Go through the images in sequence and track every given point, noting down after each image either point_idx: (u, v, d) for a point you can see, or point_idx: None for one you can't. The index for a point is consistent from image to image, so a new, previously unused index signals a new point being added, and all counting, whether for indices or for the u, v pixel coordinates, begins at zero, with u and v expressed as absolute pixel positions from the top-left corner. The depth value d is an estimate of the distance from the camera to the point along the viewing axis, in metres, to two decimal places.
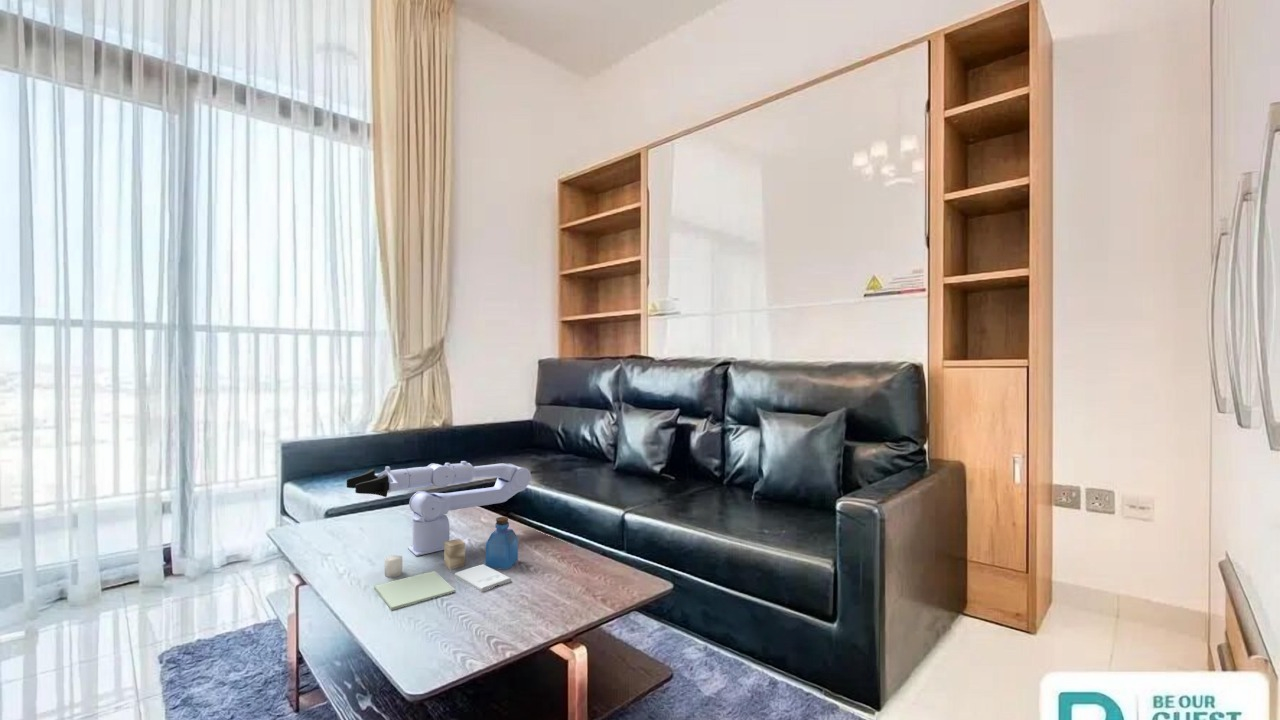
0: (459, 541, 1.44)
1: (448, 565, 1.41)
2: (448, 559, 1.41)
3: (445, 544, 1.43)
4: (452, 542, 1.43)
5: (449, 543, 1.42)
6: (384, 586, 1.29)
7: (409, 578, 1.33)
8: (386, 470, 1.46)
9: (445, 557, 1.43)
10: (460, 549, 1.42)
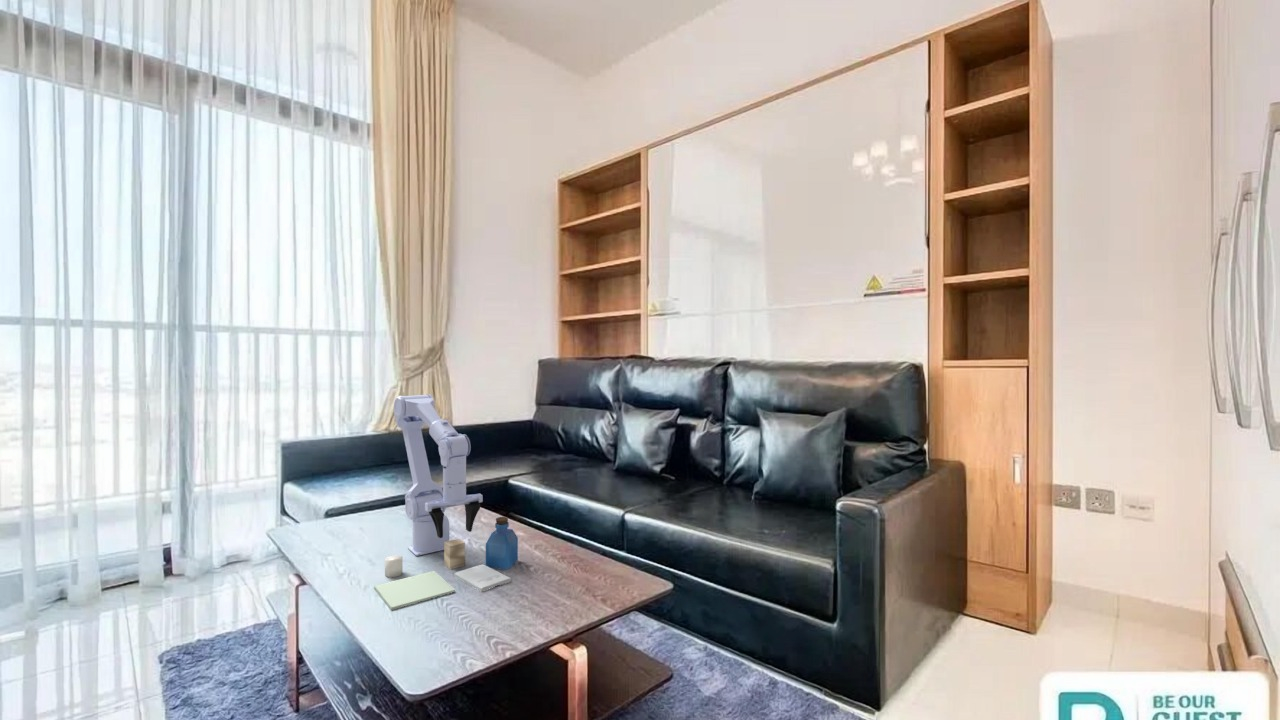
0: (459, 541, 1.44)
1: (448, 565, 1.41)
2: (448, 559, 1.41)
3: (445, 544, 1.43)
4: (452, 542, 1.43)
5: (449, 543, 1.42)
6: (384, 586, 1.29)
7: (409, 578, 1.33)
8: None
9: (445, 557, 1.43)
10: (460, 549, 1.42)
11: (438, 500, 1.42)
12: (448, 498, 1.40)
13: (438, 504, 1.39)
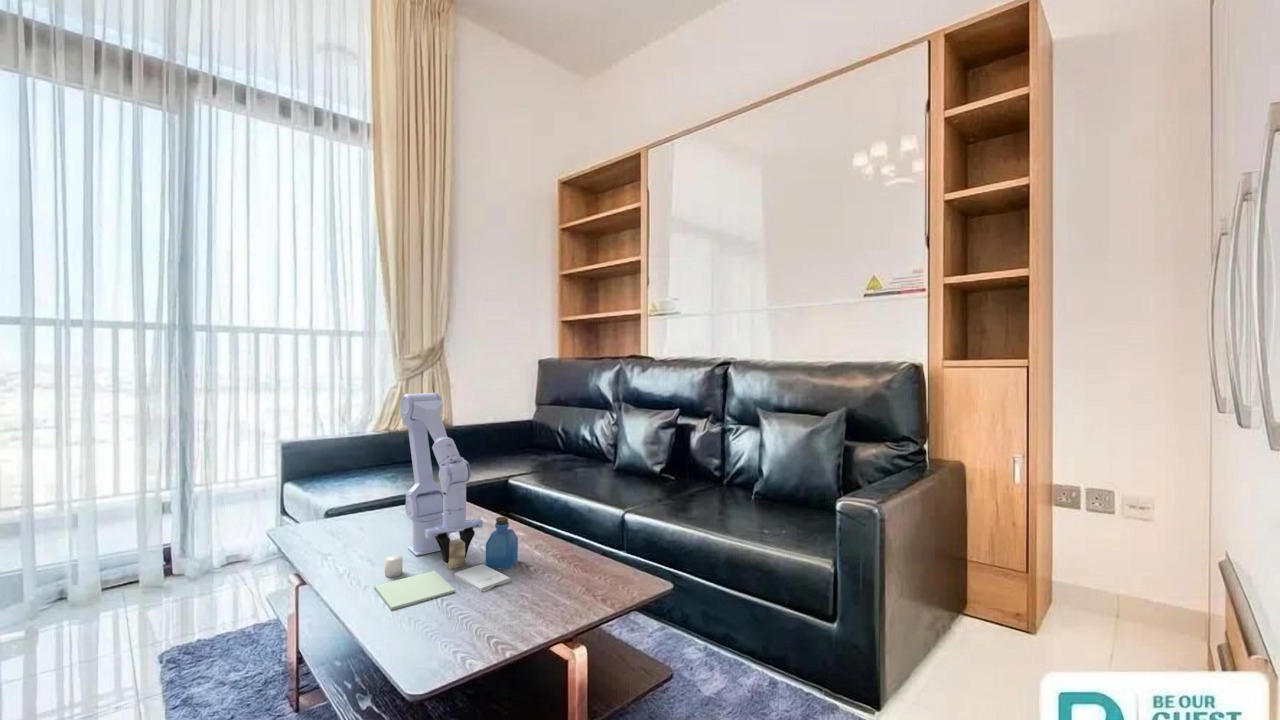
0: (459, 541, 1.44)
1: (448, 565, 1.41)
2: None
3: None
4: (452, 542, 1.43)
5: (449, 543, 1.42)
6: (384, 586, 1.29)
7: (409, 578, 1.33)
8: None
9: None
10: (460, 549, 1.42)
11: (438, 526, 1.42)
12: (448, 525, 1.40)
13: (438, 531, 1.39)
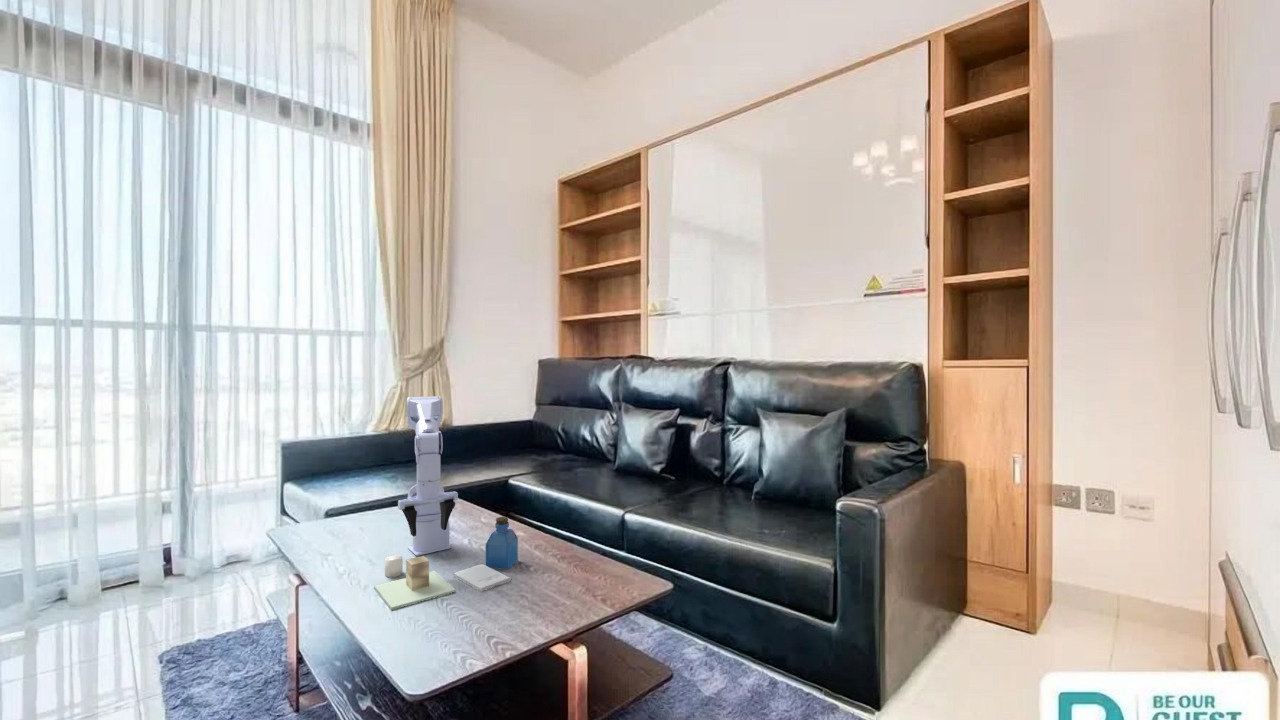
0: (423, 559, 1.30)
1: (410, 586, 1.27)
2: (410, 579, 1.27)
3: (407, 562, 1.29)
4: (415, 560, 1.29)
5: (411, 561, 1.28)
6: (384, 586, 1.29)
7: None
8: (433, 501, 1.38)
9: (406, 577, 1.29)
10: (423, 567, 1.28)
11: (412, 498, 1.40)
12: (422, 496, 1.38)
13: (411, 502, 1.36)
